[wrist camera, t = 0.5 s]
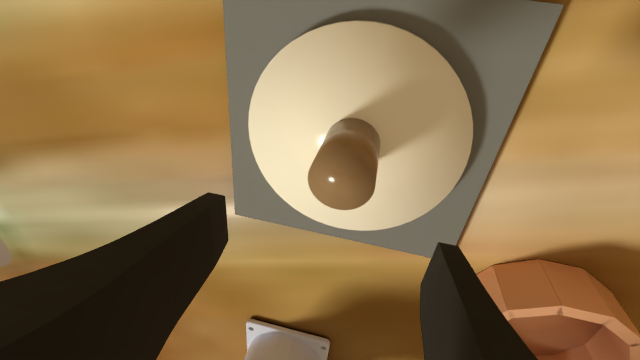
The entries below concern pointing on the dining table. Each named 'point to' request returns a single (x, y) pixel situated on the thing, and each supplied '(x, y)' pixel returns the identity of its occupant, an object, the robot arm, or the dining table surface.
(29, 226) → the dining table surface
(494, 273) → the brown rounded ring
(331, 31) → the lid
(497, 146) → the mat
